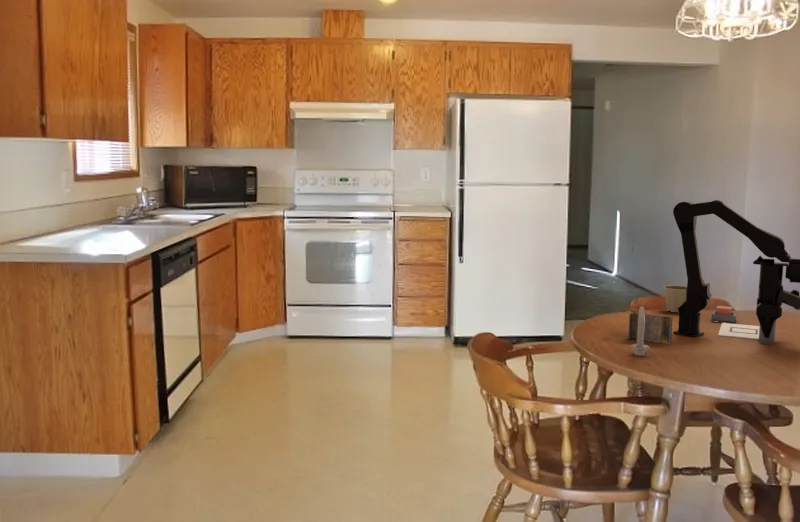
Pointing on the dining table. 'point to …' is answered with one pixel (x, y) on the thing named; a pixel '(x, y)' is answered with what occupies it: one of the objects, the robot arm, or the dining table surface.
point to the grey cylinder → (771, 338)
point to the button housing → (724, 317)
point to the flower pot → (675, 297)
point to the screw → (640, 335)
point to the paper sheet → (739, 331)
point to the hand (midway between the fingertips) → (766, 335)
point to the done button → (724, 310)
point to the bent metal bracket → (651, 327)
